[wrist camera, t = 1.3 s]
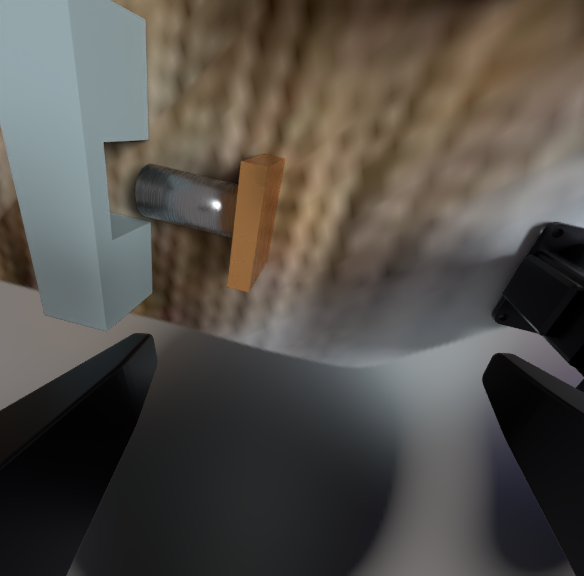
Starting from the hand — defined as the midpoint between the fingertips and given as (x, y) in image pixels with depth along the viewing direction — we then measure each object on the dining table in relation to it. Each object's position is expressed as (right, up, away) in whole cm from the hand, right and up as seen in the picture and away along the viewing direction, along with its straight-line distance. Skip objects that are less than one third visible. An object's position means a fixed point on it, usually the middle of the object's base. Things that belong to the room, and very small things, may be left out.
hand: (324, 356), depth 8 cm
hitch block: (-12, +9, +11) cm, 18 cm away
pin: (-5, +7, +11) cm, 14 cm away
